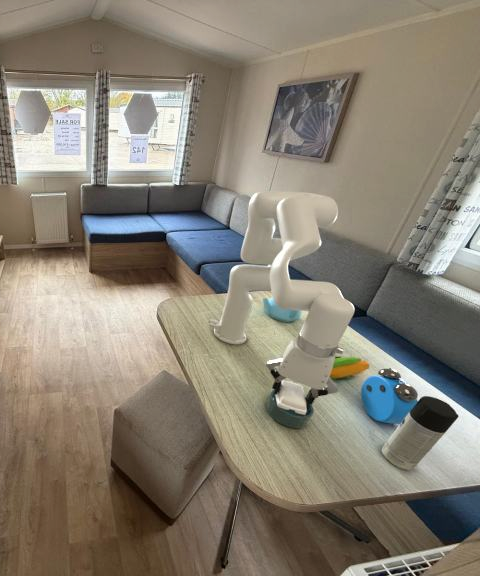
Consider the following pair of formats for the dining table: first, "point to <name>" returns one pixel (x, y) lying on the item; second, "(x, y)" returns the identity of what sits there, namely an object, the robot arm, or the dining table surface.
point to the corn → (347, 367)
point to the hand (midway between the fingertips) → (290, 396)
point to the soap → (291, 397)
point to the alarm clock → (388, 397)
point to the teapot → (280, 311)
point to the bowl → (288, 414)
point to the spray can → (419, 432)
